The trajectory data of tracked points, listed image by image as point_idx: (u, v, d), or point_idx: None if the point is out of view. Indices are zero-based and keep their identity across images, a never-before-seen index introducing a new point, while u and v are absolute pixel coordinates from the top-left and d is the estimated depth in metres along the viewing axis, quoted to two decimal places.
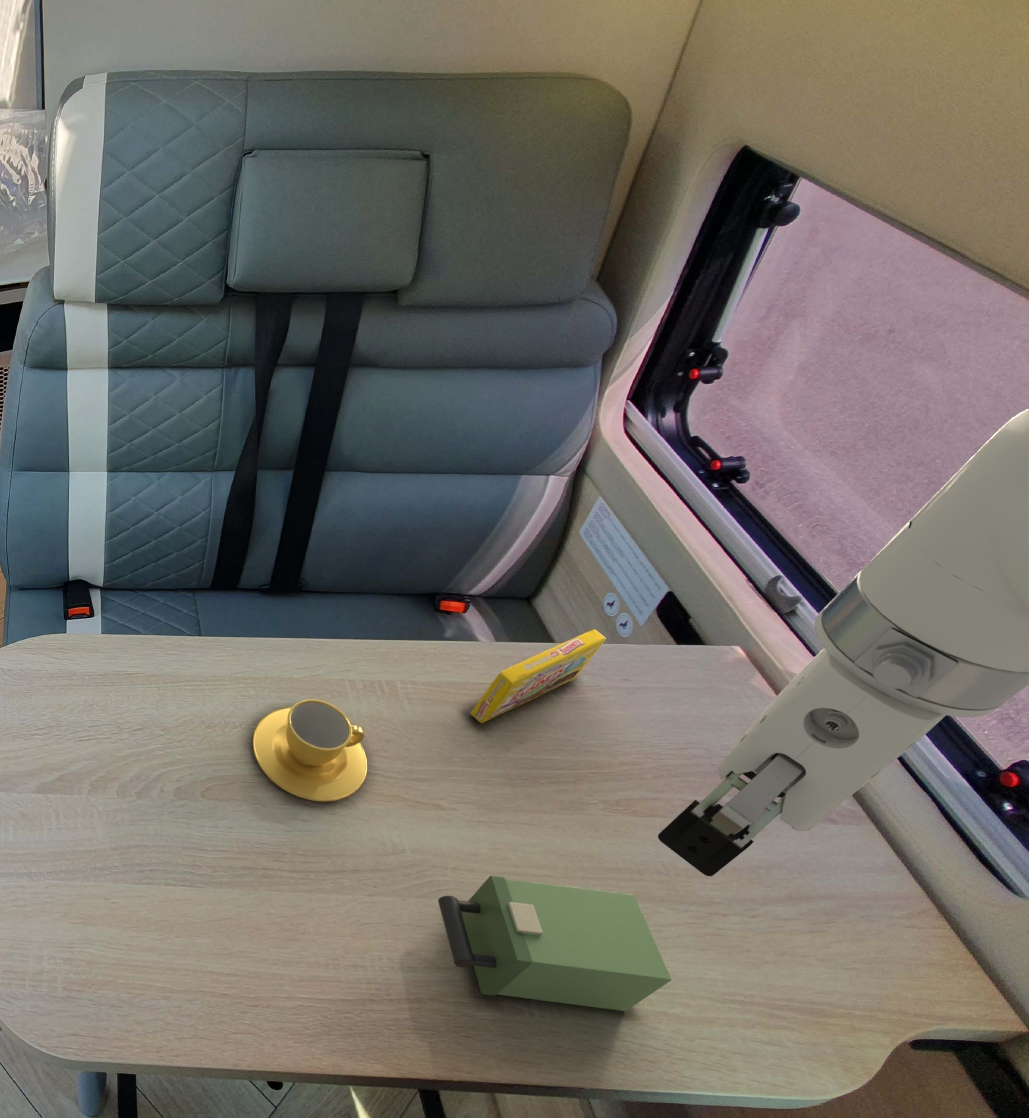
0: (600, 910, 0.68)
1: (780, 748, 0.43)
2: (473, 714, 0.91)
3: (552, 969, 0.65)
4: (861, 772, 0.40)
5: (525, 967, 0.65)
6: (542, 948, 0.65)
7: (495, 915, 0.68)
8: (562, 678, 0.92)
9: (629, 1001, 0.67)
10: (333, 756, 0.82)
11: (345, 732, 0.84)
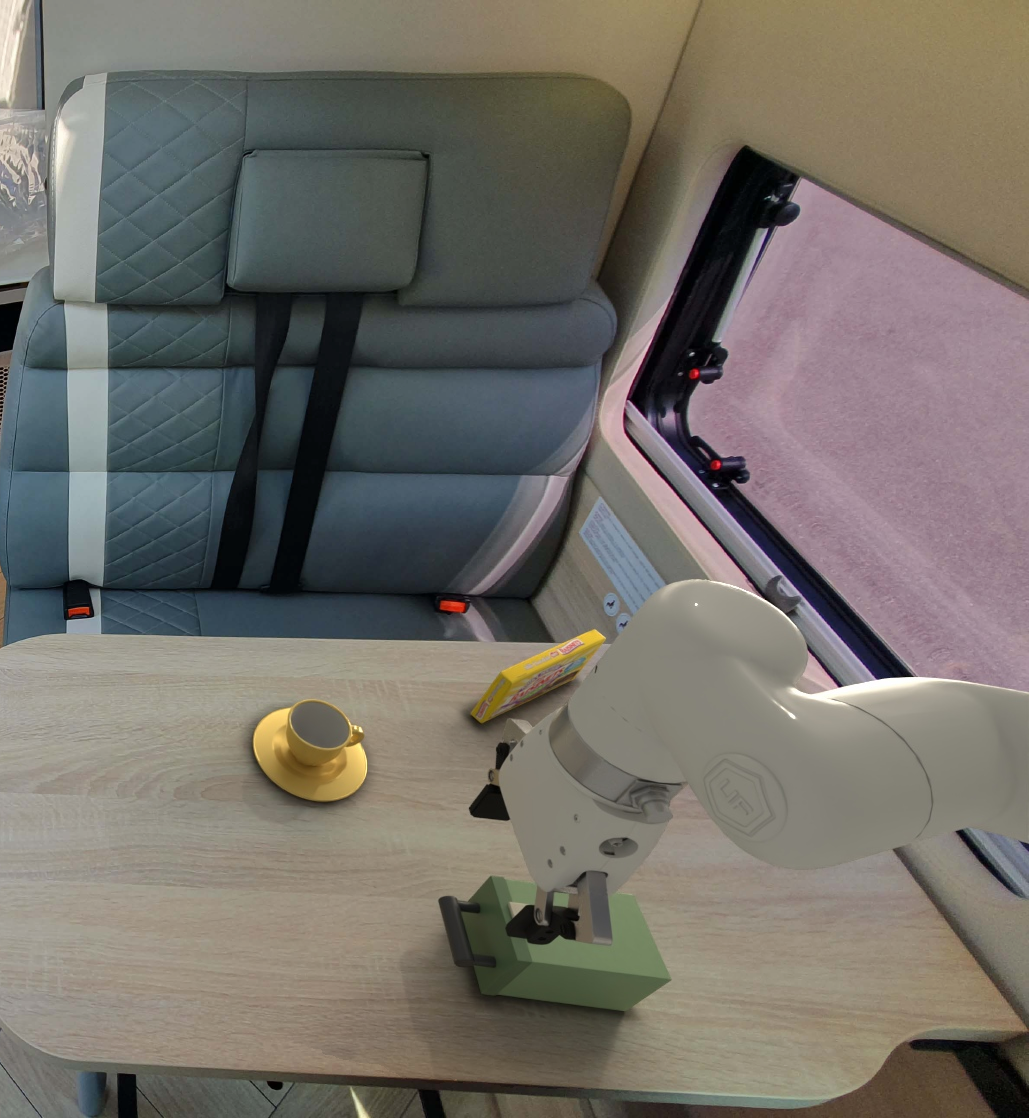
0: None
1: (587, 868, 0.52)
2: (473, 714, 0.91)
3: (552, 969, 0.65)
4: (642, 861, 0.51)
5: (525, 967, 0.65)
6: (542, 948, 0.65)
7: (495, 915, 0.68)
8: (562, 678, 0.92)
9: (629, 1001, 0.67)
10: (333, 756, 0.82)
11: (345, 732, 0.84)
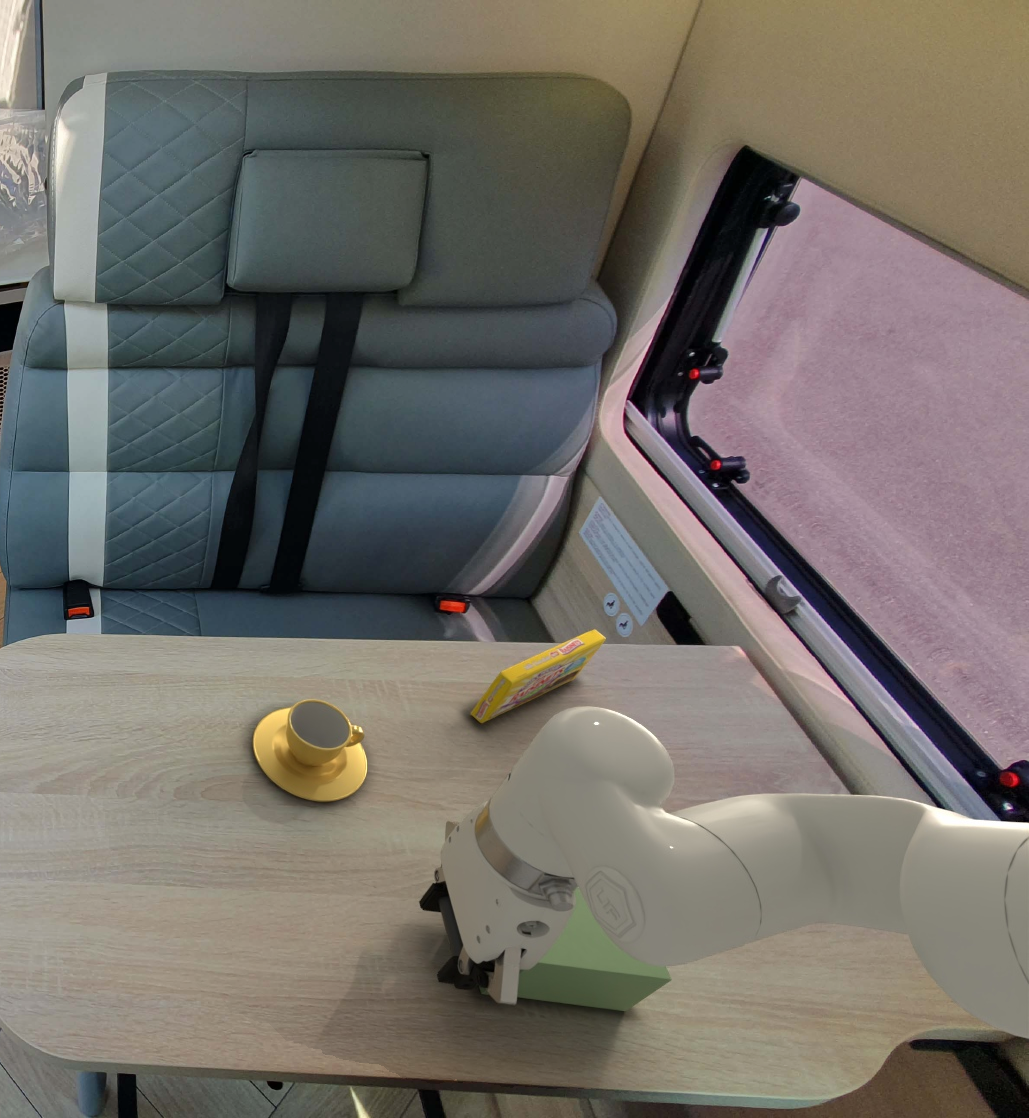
0: None
1: (508, 945, 0.60)
2: (473, 714, 0.91)
3: (552, 969, 0.65)
4: (555, 939, 0.59)
5: None
6: None
7: None
8: (562, 678, 0.92)
9: (629, 1001, 0.67)
10: (333, 756, 0.82)
11: (345, 732, 0.84)
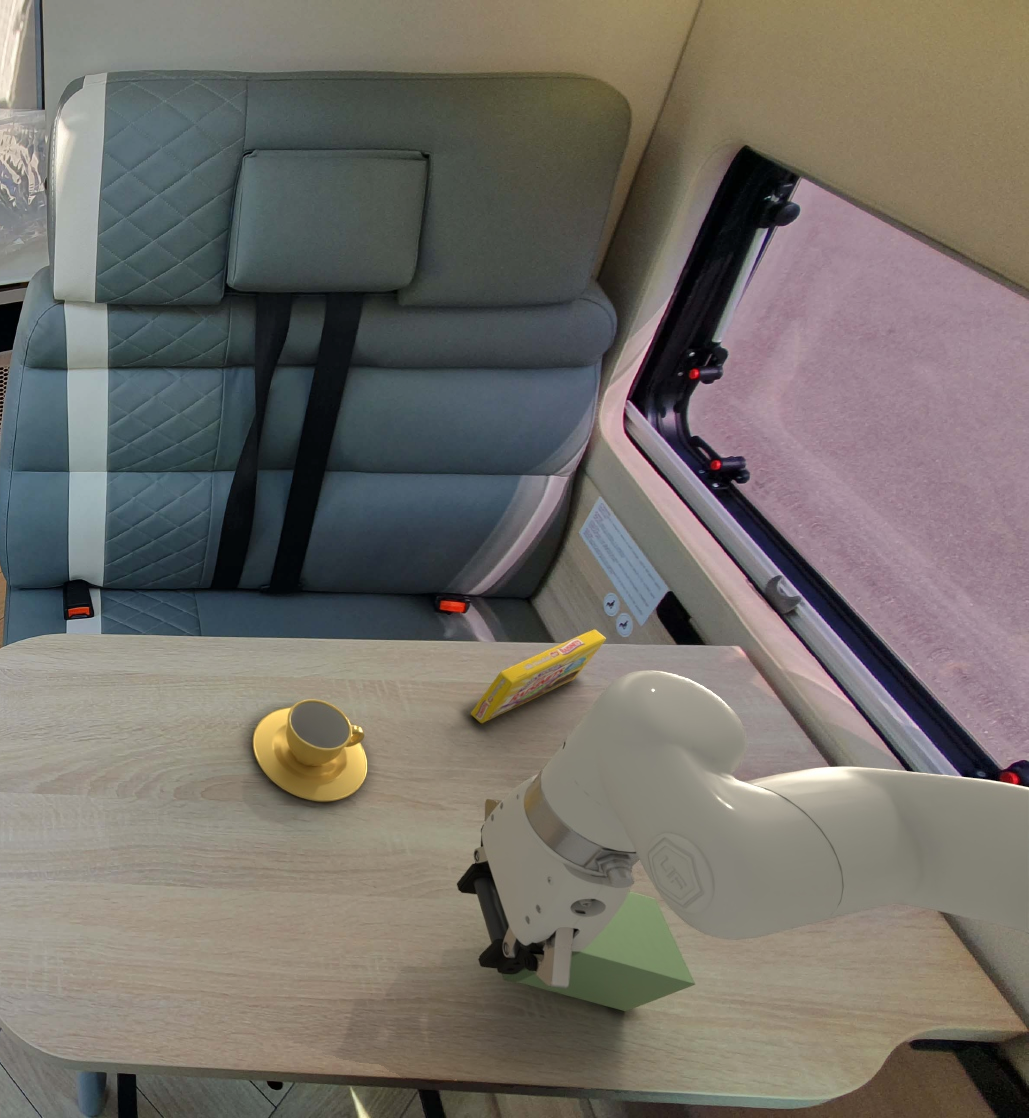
0: (630, 910, 0.67)
1: (560, 925, 0.57)
2: (473, 714, 0.91)
3: (593, 961, 0.63)
4: (610, 918, 0.56)
5: None
6: None
7: None
8: (562, 678, 0.92)
9: (638, 1001, 0.67)
10: (333, 756, 0.82)
11: (345, 732, 0.84)
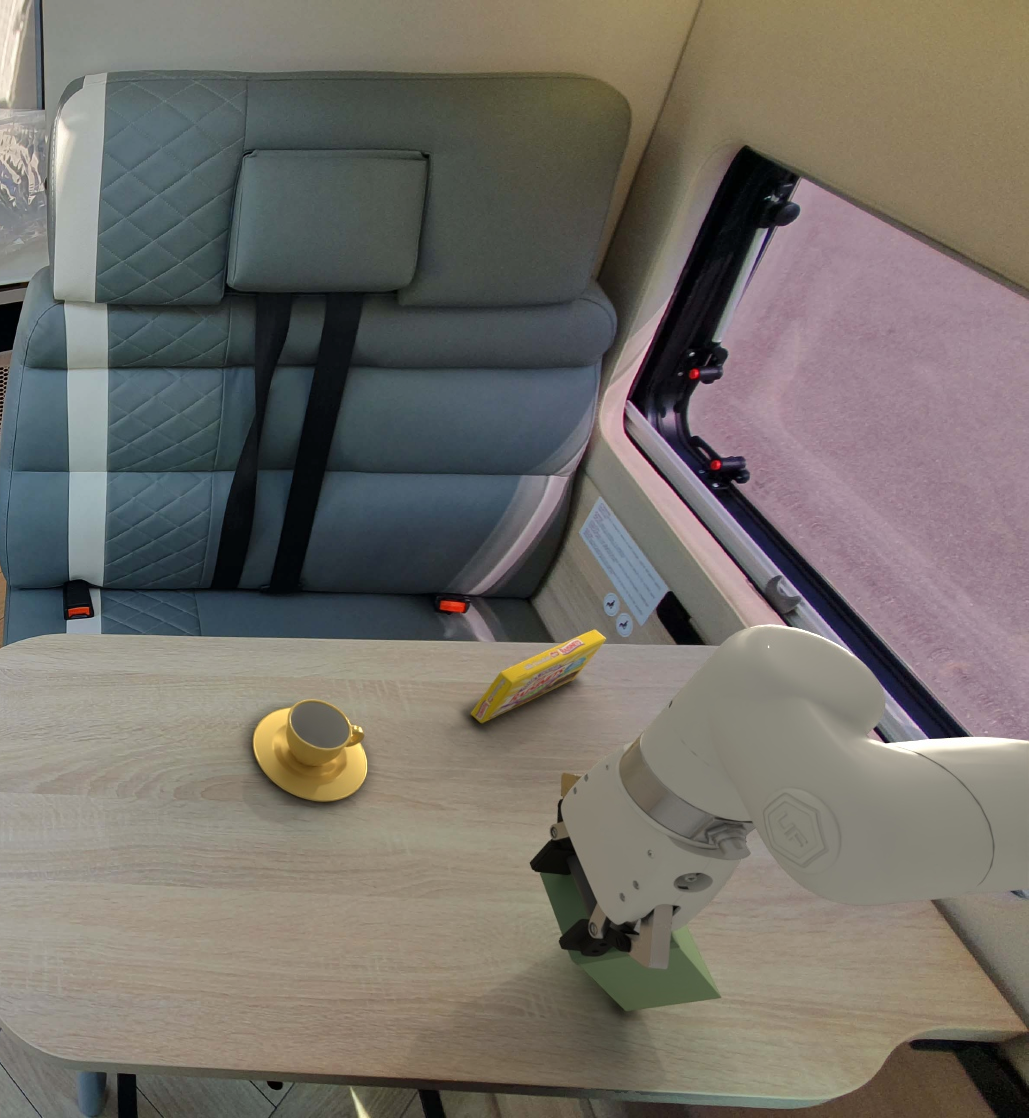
0: None
1: (660, 902, 0.53)
2: (473, 714, 0.91)
3: (675, 958, 0.61)
4: (715, 894, 0.53)
5: None
6: (676, 936, 0.61)
7: None
8: (562, 678, 0.92)
9: (650, 1004, 0.67)
10: (333, 756, 0.82)
11: (345, 732, 0.84)
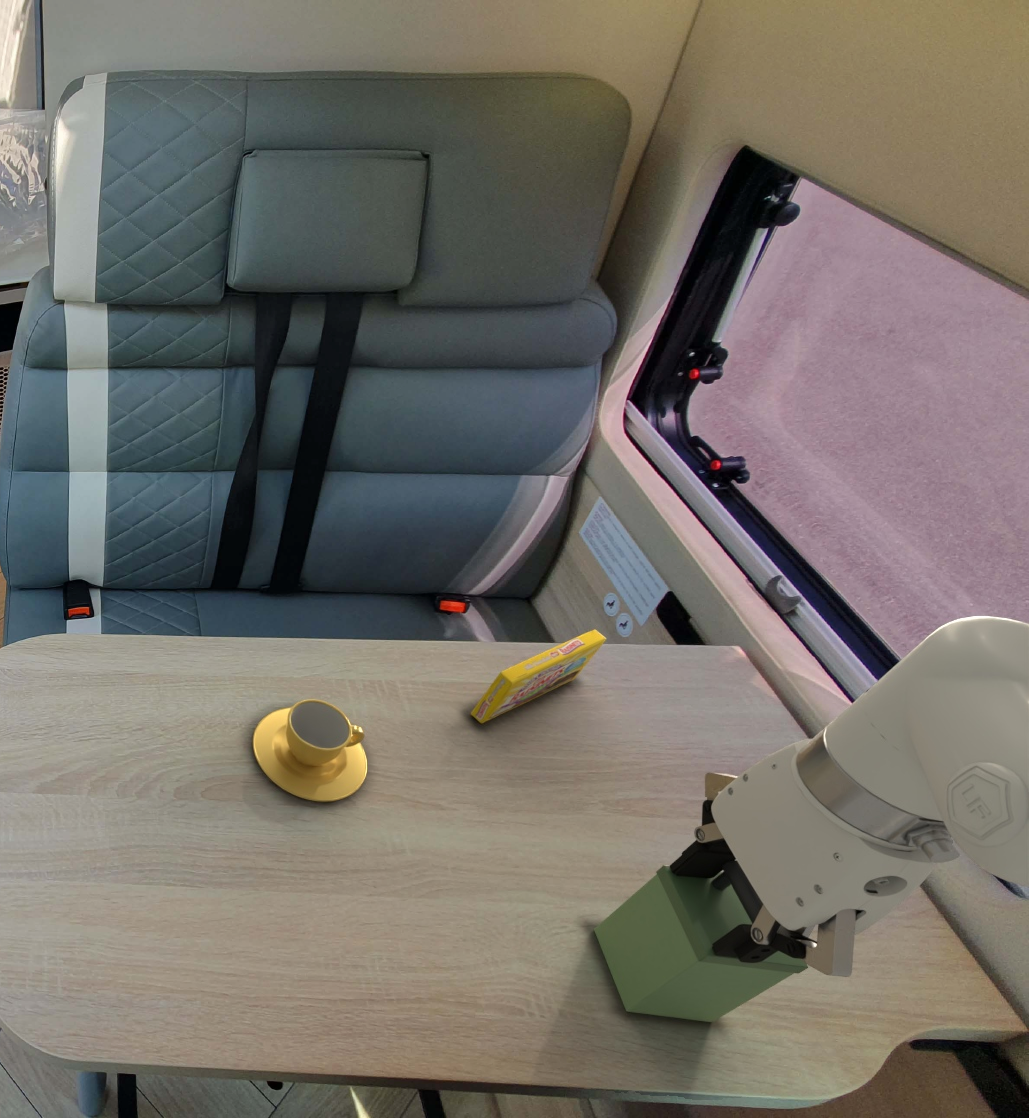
0: None
1: (845, 906, 0.51)
2: (473, 714, 0.91)
3: (769, 981, 0.62)
4: (905, 898, 0.50)
5: (785, 971, 0.60)
6: None
7: None
8: (562, 678, 0.92)
9: (656, 1011, 0.68)
10: (333, 756, 0.82)
11: (345, 732, 0.84)
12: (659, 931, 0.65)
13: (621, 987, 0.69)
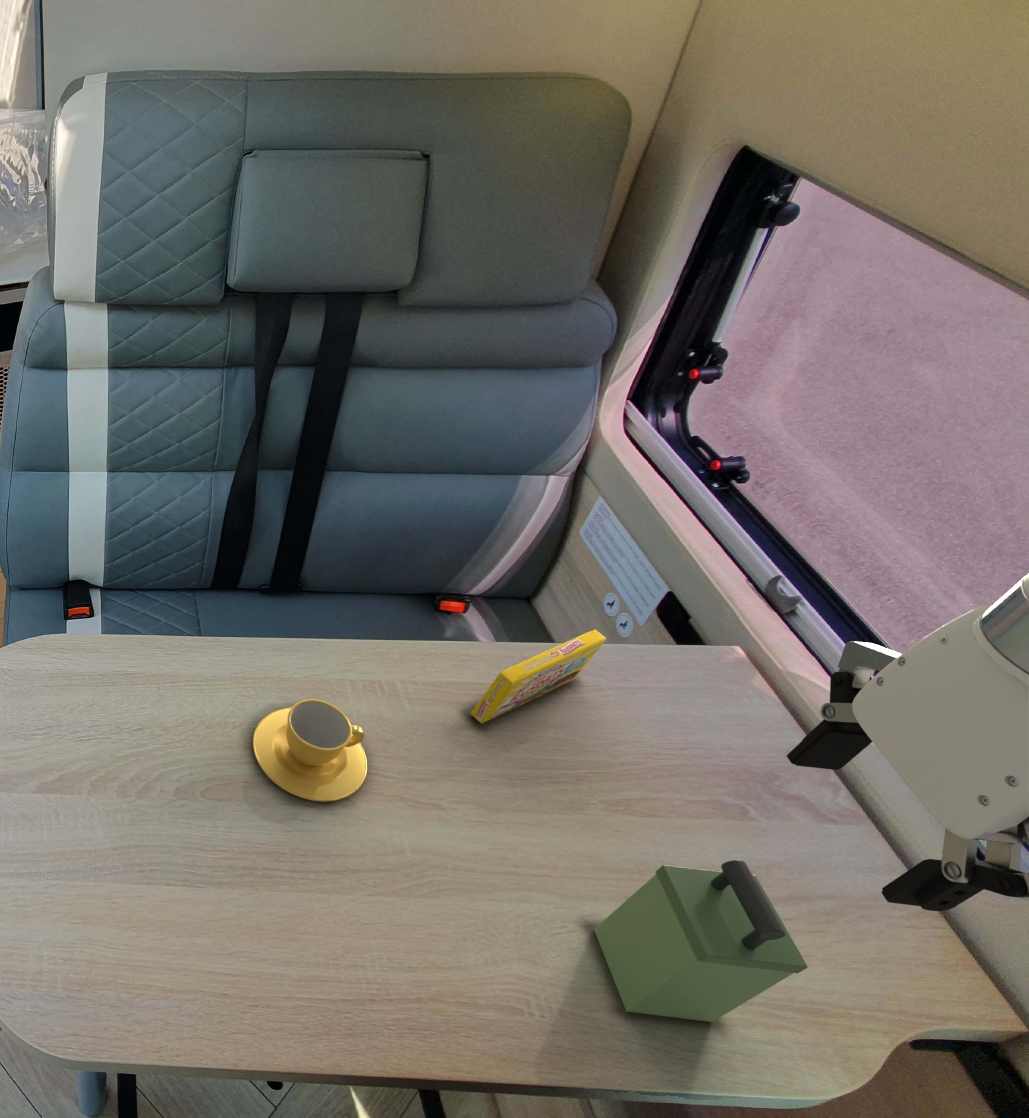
0: None
1: None
2: (473, 714, 0.91)
3: (769, 980, 0.62)
4: None
5: (785, 971, 0.60)
6: None
7: None
8: (562, 678, 0.92)
9: (656, 1011, 0.68)
10: (333, 756, 0.82)
11: (345, 732, 0.84)
12: (659, 931, 0.65)
13: (621, 987, 0.69)
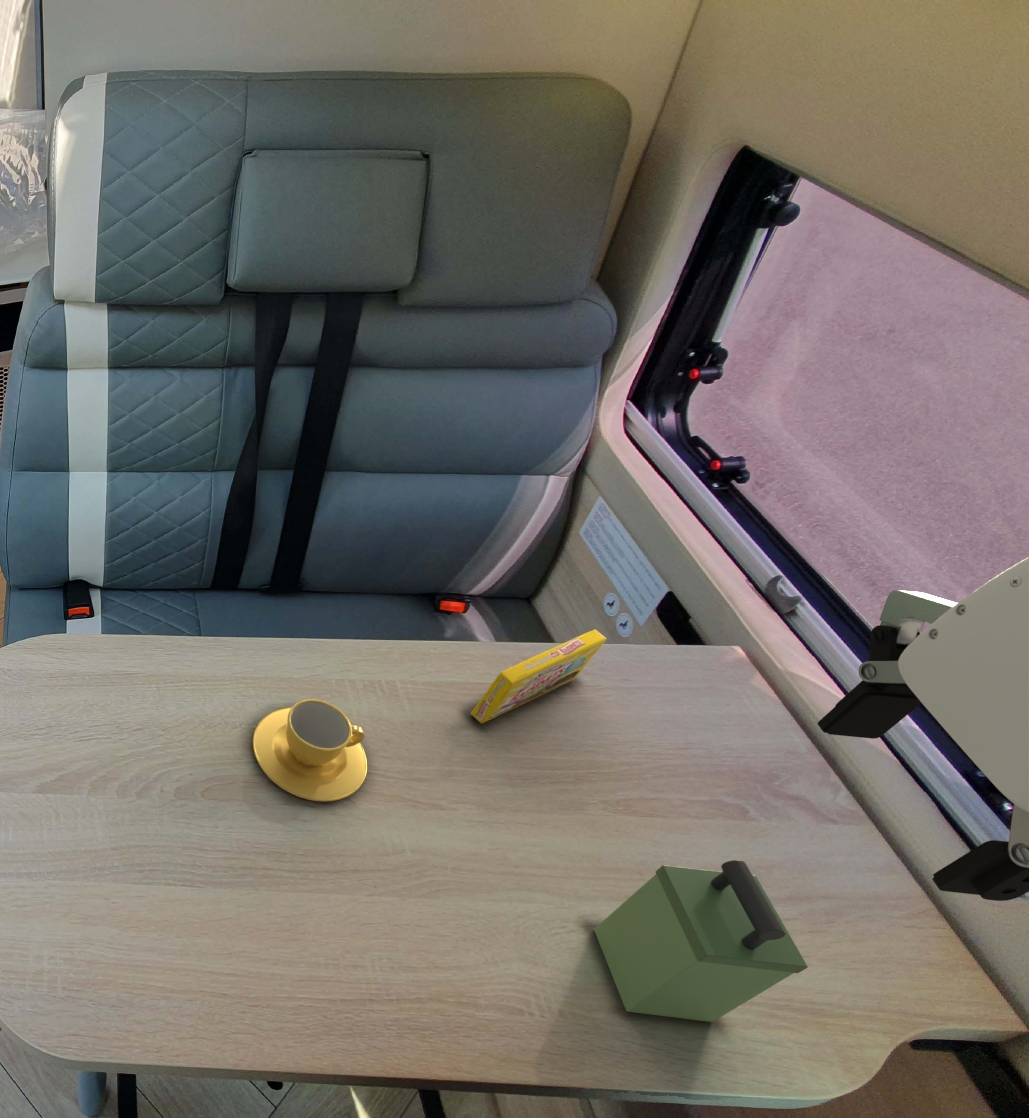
0: None
1: None
2: (473, 714, 0.91)
3: (769, 980, 0.62)
4: None
5: (785, 971, 0.60)
6: None
7: None
8: (562, 678, 0.92)
9: (656, 1011, 0.68)
10: (333, 756, 0.82)
11: (345, 732, 0.84)
12: (659, 931, 0.65)
13: (621, 987, 0.69)
